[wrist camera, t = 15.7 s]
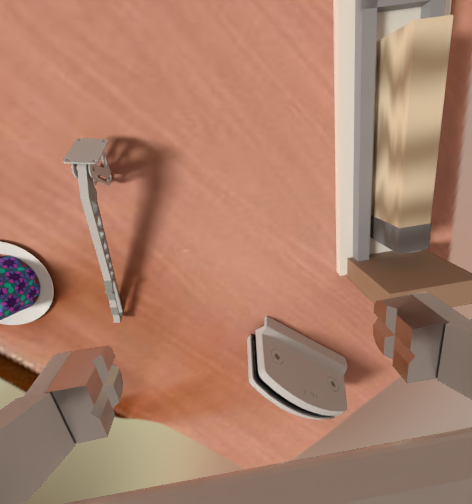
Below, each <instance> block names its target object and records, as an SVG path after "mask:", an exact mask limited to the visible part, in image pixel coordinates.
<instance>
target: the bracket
mask: <svg viewBox="0 0 472 504" xmlns="http://www.w3.org/2000/svg"><path fill="white" fill-rule="evenodd" d="M80 140H82V141H80ZM104 141H105V142H104ZM107 144H108V140H107V139H88V138H78V139H76V141H75V142H74V144H73V145H72V147H71V149H70V150H69V152H68V153H67V155H66V156H65V158H64V159H63V162H64V163H68V164H72V166H71V167H72V173H73V175H74V177H75V178H78V181H79V190H80V198H81V202H82V205H83V209H84V212H85V216H86V219H87V222H88V226H89V229H90V233H91V236H92V240H93V243H94V247H95V250H96V254H97V257H98V261H99V264H100V268H101V271H102V274H103V278H104V282H105V294H108V300H109V303H110V308H111V311H112V316H113V319H114V323H120V322H121V319H122V315H123V309H122V304H121V300H120V296H119V291H118V287H117V283H116V279H115V274H114V270H113V266H112V262H111V257H110V253H109V249H108V245H107V241H106V236H105V232H104V228H103V224H102V219H101V215H100V211H99V207H98V202H97V192H96V189H95V187H94V185H96V183H97V181H99V182H102V183H104V184H106V185H110V183H111V180H112V175H111V171H110V168H109V164H108V162H107V159H106V155H105V151H104V150H105V148H106V146H107ZM101 157H102V163H103V167H100V166H97V165H96V164H98V163H99V161H100V159H101ZM67 160H69V161H67ZM95 161H96V162H95ZM76 167H77V170H76ZM98 175H100V176H105V177H106V179H107V182H106V181H104V180H102V179H100V178H98ZM108 176H110V179H109V177H108Z"/></svg>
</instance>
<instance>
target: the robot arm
mask: <svg viewBox="0 0 472 504" xmlns="http://www.w3.org/2000/svg"><path fill="white" fill-rule="evenodd" d="M374 313H375V314H376V316H377V317H378V319H377V320H376V322H375V323H374V324H373V335H374V338H375V342H376V344H377V346H378V348H379V350H380V351H381V352H382V353H383V355H385V356H387V357H389V358H391V359H393V367H394V368H395V369H396V371H397V372H398V373H399V374H400V375H401V377H402V378H403V379H404V380H405V381H406V382H407V383H411V382H418V381H424V380H431V379H437V380H438V381H440V382H441V383H443V384H445V385H447V386H449V387H450V388H452V389H454V390H455V391H457V392H459V393H461V394H463V395H464V396H466V397H468V398H470V399H471V400H472V319H471V320H469V319H467V318H466V317H464V316H463V315H461V314H460V313H459V312H457V311H455V310H454V309H453V308H451V307H450V306H448V305H447V304H445V303H444V302H443V301H441V300H440V299H438V298H437V297H435V296H434V295H432V294H431V293H429V292H425V291H423V292H418V293H413V294H408V295H405V296H400V297H394V298H389V299H383V300H378V301H376V302H375V305H374ZM114 358H115V355H114V352H113V350H112V348H111V347H109V346H102V347H96V348H89V349H82V350H75V351H69V352H63V353H58V354H56V355H54V356H53V357H52V358H51V360H50V361H49V362H48V364H47V365H46V367H45V368H44V369H43V371H42V372H41V373H40V375H39V376H38V378H37V379H36V380H35V382H34V383H33V384H32V386H31V387H30V389H29V390H28V391H27V393H26V394H25V396H24V397H21V398H17V399H15V400H14V401H13V402H11V403H10V404H8V405H7V406H5V407H4V408H3V409H1V410H0V504H25V503H26V502H27V501H28V500H29V499H30V497H31V496H32V495H33V494H34V493H35V492H36V491H37V489H38V488H39V487H40V486H41V484H43V482H44V481H45V480H46V479H47V478H48V477H49V476H50V474H51V473H52V472H53V471H54V470H55V469H56V467H57V466H58V465H59V464H60V463H61V462H62V461H63V459H64V458H65V457H66V456H67V455H68V453H69V452H70V451H71V450H72V449H73V448H74V447H75V444H76V443H81V442H86V441H91V440H96V439H100V438H105V437H107V436H108V433H109V431H110V428H111V425H112V422H113V419H114V416H115V414H114V412H113V408H114V407H115V406H116V405H117V404H118V403H119V401H120V398H121V395H122V388H123V380H122V374H121V371H120V368H118V367H117V366H115V365H114V364H112V363H113V361H114ZM65 504H472V427H471V428H466V429H460V430H455V431H450V432H445V433H439V434H433V435H428V436H423V437H418V438H412V439H407V440H401V441H396V442H391V443H386V444H380V445H375V446H369V447H364V448H358V449H353V450H348V451H342V452H337V453H332V454H326V455H322V456H316V457H310V458H305V459H300V460H294V461H289V462H284V463H278V464H273V465H268V466H262V467H257V468H251V469H246V470H241V471H235V472H230V473H225V474H219V475H214V476H209V477H203V478H198V479H193V480H187V481H182V482H177V483H171V484H166V485H161V486H155V487H150V488H145V489H139V490H134V491H129V492H123V493H118V494H113V495H107V496H102V497H97V498H91V499H86V500H81V501H76V502H70V503H65Z"/></svg>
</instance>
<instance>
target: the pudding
mask: <svg viewBox="0 0 472 504" xmlns="http://www.w3.org/2000/svg"><path fill="white" fill-rule="evenodd" d="M0 254H7V255H10V256H6V257H3V258H1V257H0V324H7V325H19V324H26V323H29V322H32V321H34V320H36V319H38V318H40V317H41V316H42V315H44V314H45V313H46V311H47V310H48V309H49V307H50V305H51V303H52V300H53V296H54V288H53V283H52V280H51V277H50V275H49V273H48V271H47V270H46V268H45V267H44V266H43V264H42V263H41V262H40V261H39V260H38V259H37V258H36V257H34V256H33V255H32V254H30V253H29V252H27V251H26V250H24V249H22V248H20V247H18V246H16V245H13V244H9V243H6V242H0ZM12 256H14V257H12ZM15 257H16V258H15ZM17 258H18V259H17ZM19 259H20V260H22V261H23V262H25V263H26V264H27V265H29V266H30V267H31V268H32V269H33V270H34V271H33V270H32V269H31V268H30V267H26V266H23V265H22V263H21V262H20V260H19ZM35 273H36V274H35ZM36 275H37V277H38V279H39V282H40V286H39V285H38V284H37V283H36V282H35V280H36ZM39 292H40V295H39ZM38 295H39V297H38V300H37V301H36V302H35V303H34V299H33V298H34V297H36V296H38ZM33 303H34V304H33ZM32 304H33V305H32ZM31 305H32V306H31ZM30 306H31V307H30ZM28 307H29V308H28ZM26 308H27V309H26ZM23 309H24V310H23Z"/></svg>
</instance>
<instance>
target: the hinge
mask: <svg viewBox="0 0 472 504" xmlns="http://www.w3.org/2000/svg"><path fill="white" fill-rule="evenodd" d="M255 333H256V334H255V336H252V335H250V336H249V337H248V339H247V347H248V370H249V381H250V384H251V385H252V386H253V387H254V388H255V389H256V390H257V391H258V392H259V393H261V394H262V395H263V396H264V397H266V398H267V399H268V400H270V401H271V402H272V403H274V404H276V405H277V406H279V407H280V408H282V409H284V410H286V411H288V412H290V413H292V414H295V415H297V416H301V417H304V418H309V419H319V420H322V419H332V418H334V417H335V416H339V415H341V414H342V413H344V412H345V411H346V410H347V401H346V391H345V382H344V375H345V373H346V371H347V362H346V358H345V357H343V356H341V355H339V354H337V353H336V352H334V351H332V350H330V349H328V348H326V347H324V346H322V345H321V344H319V343H317V342H315V341H313V340H311V339H309V338H307V337H306V336H304V335H302V334H300V333H298V332H296V331H294V330H292V329H291V328H289V327H287V326H285V325H283V324H281V323H279V322H277V321H276V320H274V319H272V318H270V317H268V316H266V317H265V318H264V326H262V327H261V328H259V329H257V330H255Z"/></svg>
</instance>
